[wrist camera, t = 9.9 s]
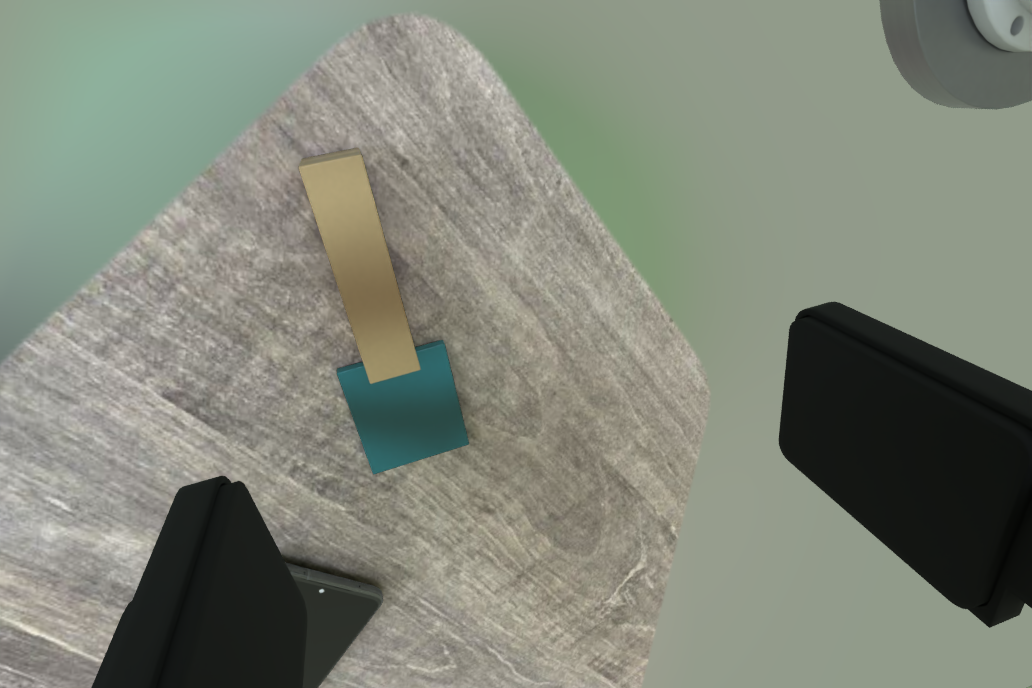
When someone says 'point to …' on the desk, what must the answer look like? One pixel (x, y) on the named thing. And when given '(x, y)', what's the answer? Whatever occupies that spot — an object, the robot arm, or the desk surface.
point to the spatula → (380, 326)
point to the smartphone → (332, 618)
